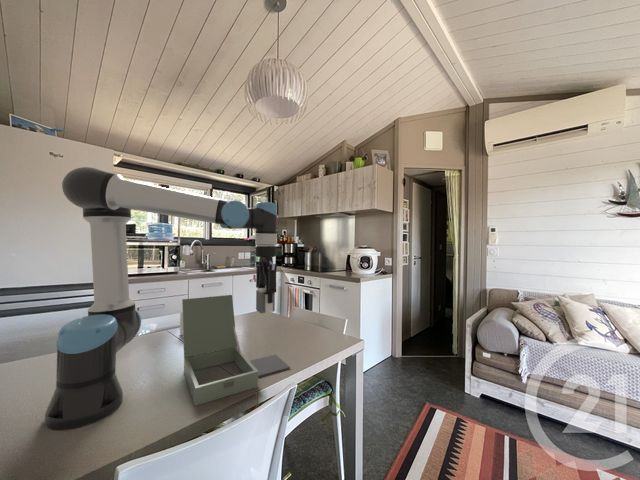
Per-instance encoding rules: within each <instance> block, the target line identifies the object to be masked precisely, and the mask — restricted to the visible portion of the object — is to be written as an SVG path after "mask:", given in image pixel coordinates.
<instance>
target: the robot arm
mask: <svg viewBox="0 0 640 480" xmlns="http://www.w3.org/2000/svg"><path fill="white" fill-rule="evenodd" d="M62 179H63V180H62V183H61V185H62V186H61V189H62V192H63V195H64V196H65V197H66V199H67V200H68V201H69V202H70V203H72V204H73V205H75V206H76V207H79V208H80V209H82V218H83V220H84V221H86V222H87V223H89V227H90V244H91V245H90V247H91V266H92V284H93V285H92V286H93V304H91V306H90V307H88V309H87V316H83V317H81V318H76V319H73V320H71V321H69V322H67V323H66V324H64V325H63V326H62V327H61V328H60V329H59V331H58V334H57V335H58V336H57V340H56V343H55V345H56V377H55V378H56V380H55V381H56V383H55V384H56V385H55V386H56V387H55V389H54V392H53V395H52V397H51V399H50V401H49V404H48V406H47V407H46V408H47V409H46V410H45V414H44V416H45V417H44V425H46V426H47V427H48V428H47V427H46V426H45V427H46V428H47V429H49V428H50V430H53V429H54V430H53V431H62V430H63V431H65V430H66V431H67V430H72V429H77V428H81V427H84V426H88V425H91V424H93V423H95V422H97V421H100V420H101V419H104V418H105V417H107V416H110V415H111V414H112V413H113V412H115V411H116V410H117V409H118V408H119V407H120V406H121V405H122V403H123V395H124V394H123V389H122V386H121V384H120V381H119V379H118V376H117V374H116V373H117V372H116V365H117V359H116V358H117V353H119V351H120V350H122V348H123V347H125V346H126V345H128V343H130V342H132V340H133V339H134V338H135V337H136V336H137V334H138V333H139V331H140V329H141V327H142V326H141V325H142V317H141V314H140V312H139V311H137V309H136V302H135V301H134V300H133V299H131V298H130V291H129V290H130V289H129V287H130V286H129V268H128V249H127V247H128V246H127V245H128V244H127V228H126V225H127V223H128V222H130V221H131V220H132V210H135V211H140V212H147V213H150V214H151V213H152V214H158V215H165V216H168V217H169V216H171V217H177V218H180V219H181V218H182V219H187V220H188V219H189V220H192V221H199V222H205V223H211V224H215V225H216V224H217V225H219V227H220V228H221V229H228V230H233V229H235V230H237V229H238V230H244V229H245V230H246V229H248V230H249V229H250V230H253V229H254V230H255V236H254V239H255V240H254V241H255V242H254V243H255V245H256V246H255V251H254V252H255V255H254V256H255V257H257V258H259V260H258V261H256V262H255V266H256V276H255V277H256V279H255V287H256V289H257V288H264V287H266V292H265V293H264V294H265V313H264V314H267V313H272V312H274V311H273V293H277V269H278V266H277V265H278V264H277V263H274V260H273V258H274V257H275V258H276V257H277V255H278V254H277V246H276V245H277V239H278V236H277V232H278V231H277V230H278V229H277V228H278V211H277V204H276V203H274V202H270V201H259V202H256V203H255V207H247V205H246V204H245V203H243V202H242V201H239V200H227V199H222V198H221V199H220V198H217V197H211V196H209V195H208V196H207V195H202V194H199V193H192V192H189V191H182V190H177V189H173V188H166V187H162V186H158V185H153V184H148V183H143V182H137V181H133V180H128V179H124V177H123V176H122V175H121V174H118V173H117V174H116V173H112V172H109V171H104V170H101V169H98V168H95V167H88V166H87V167H78V168H75V169H73V170H71V171H69V172H68V173H67V174H66V175H65V176H64V177H63V178H62Z"/></svg>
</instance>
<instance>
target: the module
mask: <svg viewBox="0 0 640 480" xmlns="http://www.w3.org/2000/svg"><path fill="white" fill-rule="evenodd" d="M265 292H266V286H265V287H264V288H256V291H255V293H256V295H255V299H256V300H255V305H256V306H255V310H256V311H257V312H259V313H260V314H266V313H265V294H264V293H265ZM275 293H276V292H275ZM275 293H273V312H275V310H276V309H275V308H276V307H275V305H276V304H275V300H276V299H275V298H276V296H275V295H276V294H275Z"/></svg>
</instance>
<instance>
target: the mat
mask: <svg viewBox="0 0 640 480" xmlns="http://www.w3.org/2000/svg"><path fill="white" fill-rule="evenodd" d="M249 361H250V362H251V363H252V365H253V366H254V367H255V368H256V369H257V370H258V379H259V378H262V377H266V376H269V375H272V374H276V373H279V372H283V371H286V370H290V369H291V367H290V365H288V364H287V363H286V362H285V361H284V360H283V359H282V358H280V357H279V356H278V355H277V354H272V355H267V356H264V357H260V358H255V359H250V360H249Z"/></svg>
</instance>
